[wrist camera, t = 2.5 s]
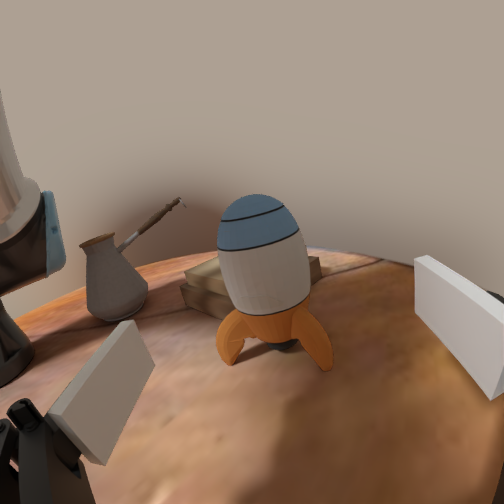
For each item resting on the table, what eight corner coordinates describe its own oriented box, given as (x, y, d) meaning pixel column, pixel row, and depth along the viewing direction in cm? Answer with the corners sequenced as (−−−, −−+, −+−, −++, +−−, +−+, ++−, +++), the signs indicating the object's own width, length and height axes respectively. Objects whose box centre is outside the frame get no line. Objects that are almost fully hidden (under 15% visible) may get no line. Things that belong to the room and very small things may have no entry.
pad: (186, 305, 40) (175, 273, 39) (254, 268, 49) (247, 240, 47) (248, 330, 30) (236, 289, 28) (322, 277, 38) (316, 242, 37)
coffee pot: (86, 334, 37) (49, 242, 33) (102, 306, 48) (75, 231, 44) (213, 296, 41) (184, 196, 37) (206, 274, 52) (183, 195, 48)
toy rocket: (287, 319, 32) (291, 185, 27) (360, 364, 24) (388, 201, 19) (207, 352, 26) (192, 195, 21) (274, 422, 18) (283, 218, 13)
